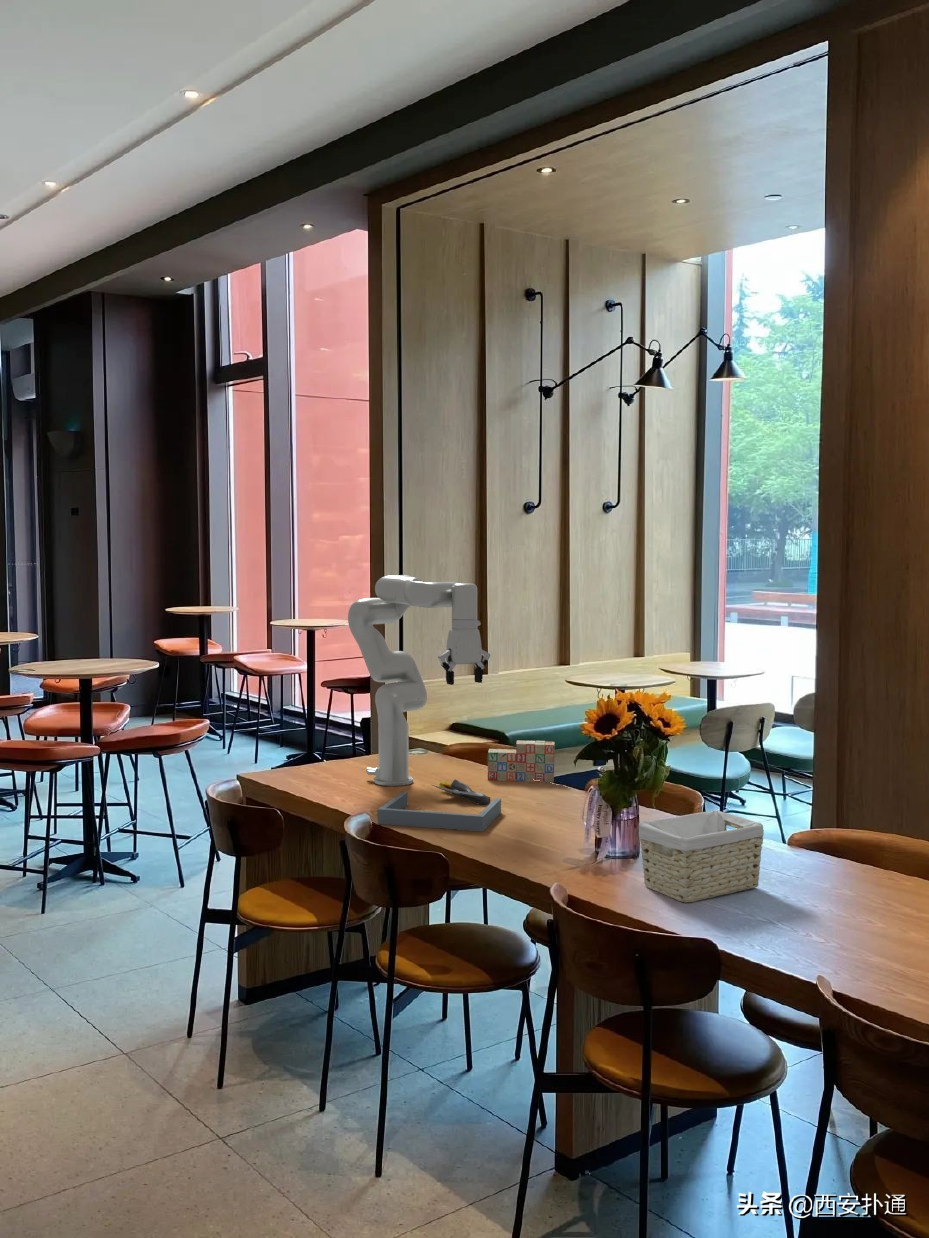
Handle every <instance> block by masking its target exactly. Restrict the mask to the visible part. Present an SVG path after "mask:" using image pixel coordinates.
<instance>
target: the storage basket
mask: <svg viewBox="0 0 929 1238" xmlns="http://www.w3.org/2000/svg"><path fill="white" fill-rule="evenodd" d="M727 826H728V827H731V828H734V829H729V830H727ZM764 835H765V833H764V824H762V823H761V822H756V821H754V820H751V819H748V818H745V817H742V816H738V815H735V814H731V813H729V812H724V811H720V810H717V809H714V810H711V811H702V812H696V813H690V814H685V815H678V816H671V817H664V818H657V819H651V820H643V821H641V822H639V823H638V838H639V840H640V841H639V842H640V849H641V851H640V852H641V859H642V863H641V864H642V869H643V870H642V872H643V874H644V875H643V878H644V879H643V883H644V886H645V887H646V888H648V889H650V890H653V891H655V892H658V893H660V894H662V895H663V896H667V897H668V898H671V899H675V900H676V901H678V902H681V903H682V902H683V903H695V902H698V901H701V900H705V899H713V898H715V897H720V896H723V895H730V894H733V893H737V892H742V891H745V890H750V889H754V888H757V887H759V880H760V870H761V866H760V865H761V860H762V856H761V855H762V849H763V846H762V845H763V844H764Z"/></svg>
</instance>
